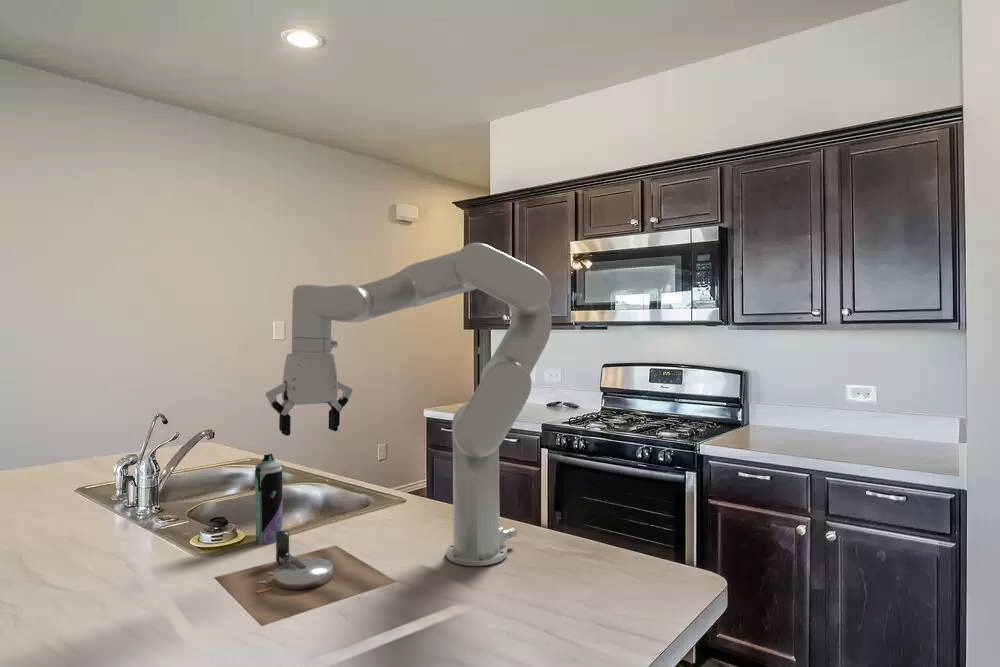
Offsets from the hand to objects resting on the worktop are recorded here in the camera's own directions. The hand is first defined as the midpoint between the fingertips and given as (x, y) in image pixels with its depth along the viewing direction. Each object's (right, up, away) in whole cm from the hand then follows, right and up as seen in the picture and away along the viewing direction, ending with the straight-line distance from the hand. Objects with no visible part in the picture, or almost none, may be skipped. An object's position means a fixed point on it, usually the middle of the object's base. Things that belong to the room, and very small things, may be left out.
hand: (310, 432), depth 122 cm
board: (+2, -26, -11) cm, 29 cm away
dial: (0, -25, -9) cm, 26 cm away
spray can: (-12, -26, +10) cm, 30 cm away
